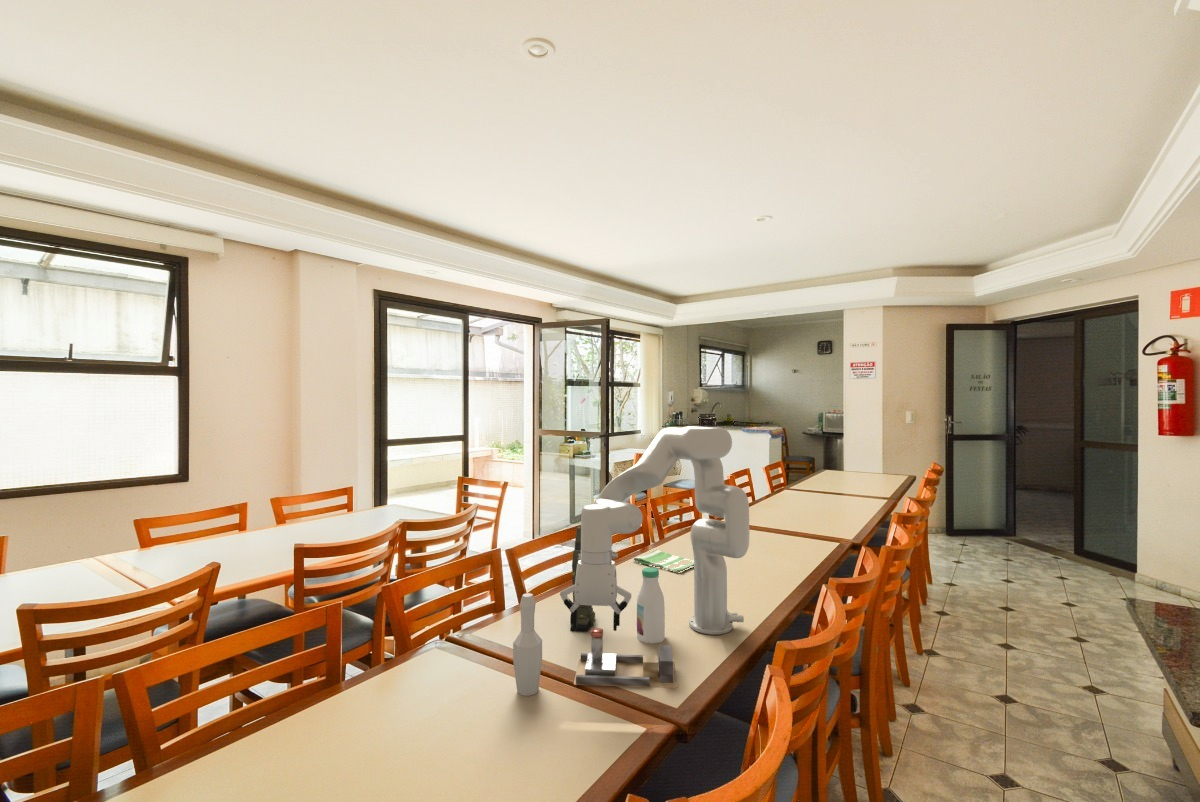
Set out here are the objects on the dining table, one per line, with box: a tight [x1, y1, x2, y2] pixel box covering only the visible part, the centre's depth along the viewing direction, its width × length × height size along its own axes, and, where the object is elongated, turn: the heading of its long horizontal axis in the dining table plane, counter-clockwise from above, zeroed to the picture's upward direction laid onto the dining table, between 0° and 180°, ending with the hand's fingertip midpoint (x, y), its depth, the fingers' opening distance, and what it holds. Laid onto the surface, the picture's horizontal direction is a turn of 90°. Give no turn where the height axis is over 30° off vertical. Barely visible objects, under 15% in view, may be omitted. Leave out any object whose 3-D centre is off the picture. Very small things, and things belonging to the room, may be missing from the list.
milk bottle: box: [636, 566, 666, 644], centre depth 147 cm, size 8×8×20 cm
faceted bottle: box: [512, 592, 543, 697], centre depth 122 cm, size 6×6×22 cm
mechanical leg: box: [569, 525, 596, 633], centre depth 160 cm, size 14×7×30 cm, turn 168°
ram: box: [585, 627, 617, 676], centre depth 128 cm, size 7×8×10 cm
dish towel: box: [633, 549, 694, 573], centre depth 218 cm, size 18×23×3 cm
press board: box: [573, 644, 679, 689], centre depth 127 cm, size 24×12×6 cm, turn 86°
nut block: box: [642, 654, 659, 677], centre depth 127 cm, size 4×4×4 cm
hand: (595, 627), depth 127 cm, fingers open, 9 cm apart
